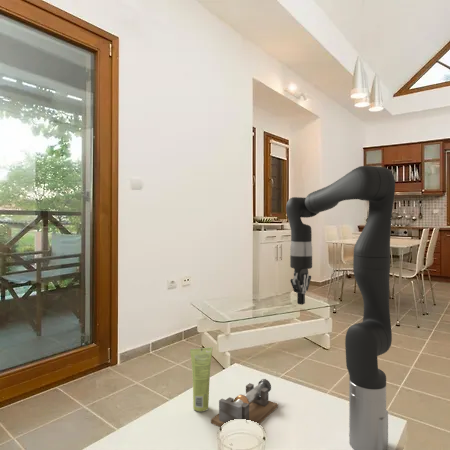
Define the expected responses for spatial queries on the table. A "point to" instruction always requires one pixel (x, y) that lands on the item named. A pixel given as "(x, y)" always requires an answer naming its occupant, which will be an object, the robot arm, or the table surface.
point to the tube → (201, 377)
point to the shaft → (253, 393)
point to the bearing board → (253, 413)
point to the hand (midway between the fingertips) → (301, 303)
